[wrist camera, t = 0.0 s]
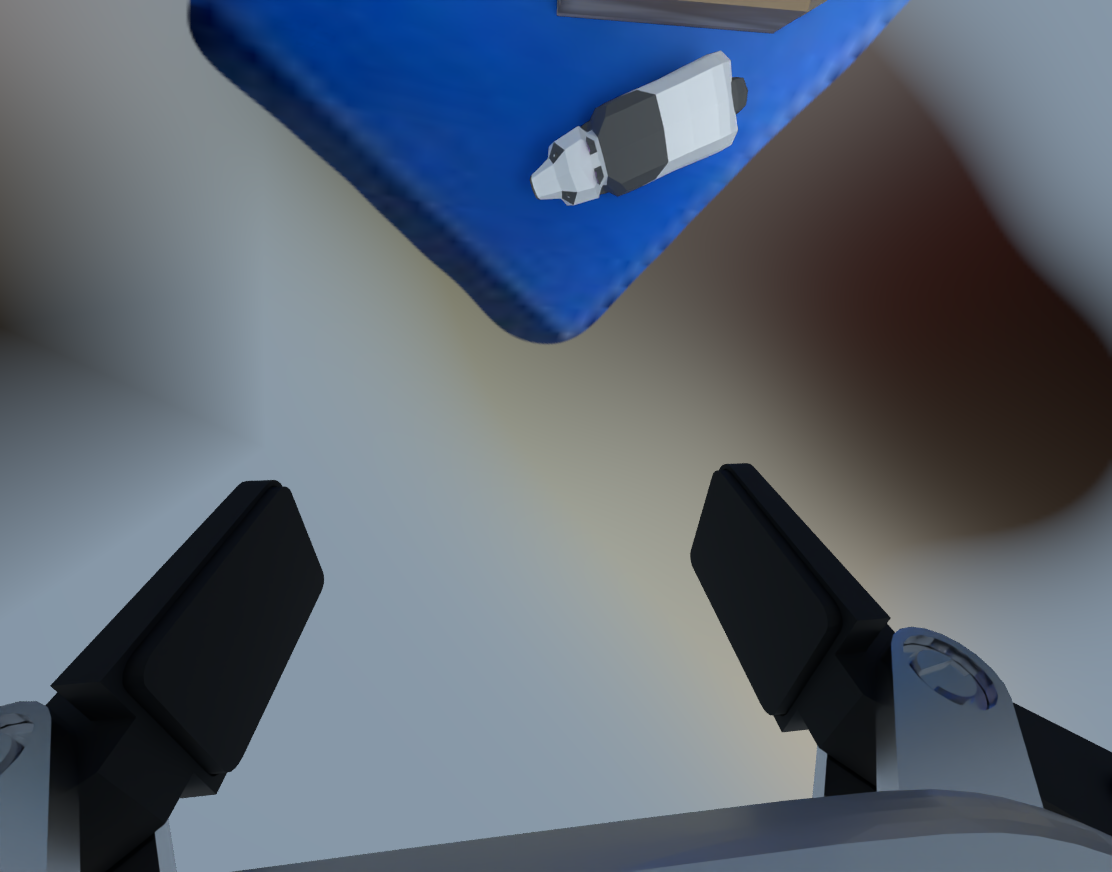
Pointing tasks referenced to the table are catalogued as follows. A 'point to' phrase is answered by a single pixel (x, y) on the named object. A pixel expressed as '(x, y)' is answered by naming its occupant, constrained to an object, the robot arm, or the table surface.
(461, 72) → the table surface
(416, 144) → the table surface
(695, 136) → the giant panda
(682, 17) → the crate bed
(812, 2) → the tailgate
